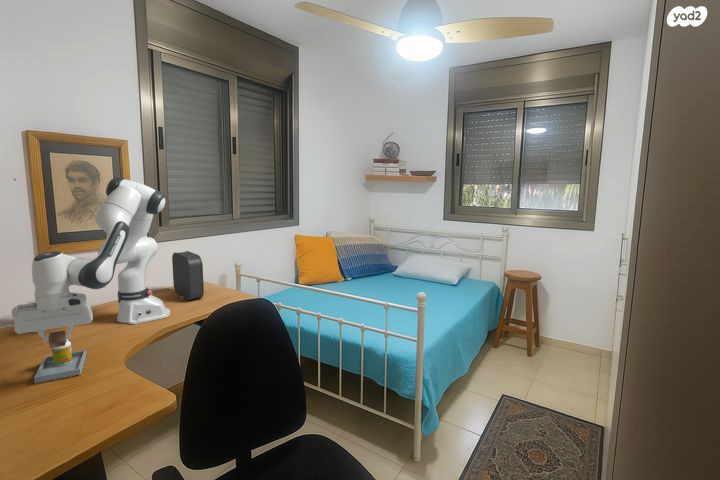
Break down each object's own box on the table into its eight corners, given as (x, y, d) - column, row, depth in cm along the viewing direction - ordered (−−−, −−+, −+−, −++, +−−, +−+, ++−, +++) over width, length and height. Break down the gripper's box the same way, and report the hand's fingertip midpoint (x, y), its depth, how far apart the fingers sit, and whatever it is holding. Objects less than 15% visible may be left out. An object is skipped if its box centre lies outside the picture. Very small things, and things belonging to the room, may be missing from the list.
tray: (86, 355, 140) (85, 349, 139) (80, 375, 126) (79, 369, 126) (45, 362, 134) (45, 356, 133) (34, 384, 120) (34, 377, 120)
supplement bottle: (51, 367, 130) (48, 341, 128) (55, 361, 134) (52, 335, 133) (70, 364, 132) (68, 339, 131) (74, 358, 137) (71, 333, 135)
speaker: (173, 292, 218) (171, 251, 214) (188, 289, 224) (186, 249, 220) (191, 302, 201) (189, 258, 197) (206, 299, 207) (204, 256, 203)
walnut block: (66, 341, 127) (65, 330, 126) (64, 345, 124) (63, 334, 123) (51, 343, 125) (50, 332, 124) (49, 348, 122) (48, 337, 121)
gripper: (8, 308, 114) (13, 350, 116) (89, 298, 125) (93, 337, 127) (13, 302, 119) (18, 343, 121) (91, 293, 130) (94, 330, 132)
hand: (57, 340), depth 124 cm, fingers closed on walnut block, 4 cm apart
